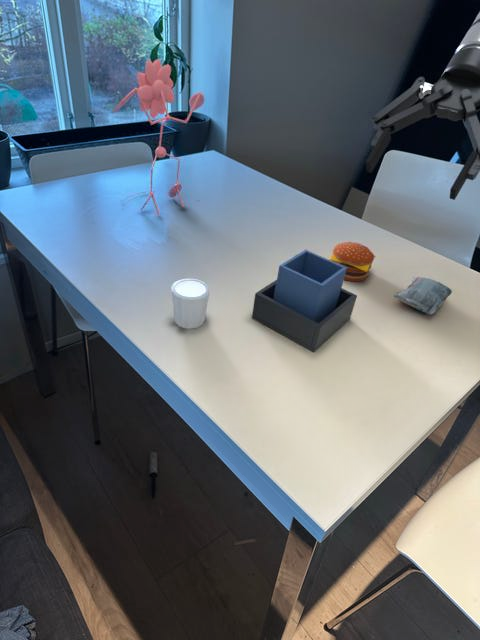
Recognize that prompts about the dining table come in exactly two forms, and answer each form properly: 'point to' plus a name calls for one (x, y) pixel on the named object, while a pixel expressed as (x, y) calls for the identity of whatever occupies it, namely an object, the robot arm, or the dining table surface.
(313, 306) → the blue bin
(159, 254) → the dining table surface
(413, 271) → the dining table surface
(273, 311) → the charcoal bin
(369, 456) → the dining table surface
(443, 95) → the robot arm
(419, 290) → the packaged food
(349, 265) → the hamburger
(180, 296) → the white cup
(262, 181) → the dining table surface
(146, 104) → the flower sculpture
